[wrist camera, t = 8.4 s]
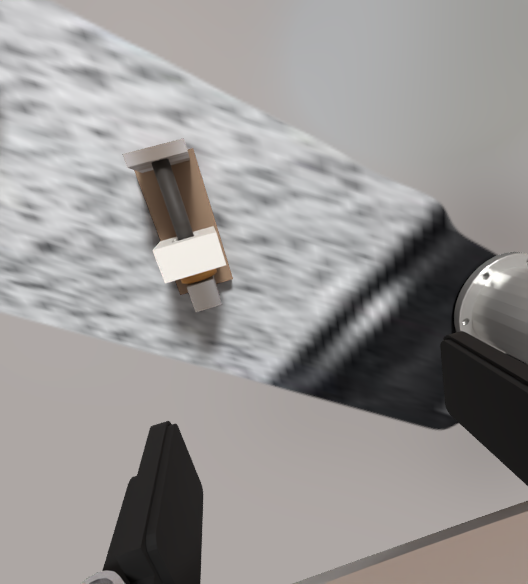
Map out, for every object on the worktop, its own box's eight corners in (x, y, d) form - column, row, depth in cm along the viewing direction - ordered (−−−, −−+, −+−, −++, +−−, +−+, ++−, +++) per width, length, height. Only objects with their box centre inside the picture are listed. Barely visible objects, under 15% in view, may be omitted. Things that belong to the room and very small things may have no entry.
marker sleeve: (213, 225, 26) (216, 231, 22) (222, 254, 27) (226, 265, 23) (159, 241, 26) (152, 250, 22) (170, 269, 26) (165, 283, 22)
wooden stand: (193, 150, 28) (191, 135, 21) (231, 275, 31) (240, 298, 24) (135, 165, 27) (113, 155, 20) (181, 290, 31) (176, 318, 24)
